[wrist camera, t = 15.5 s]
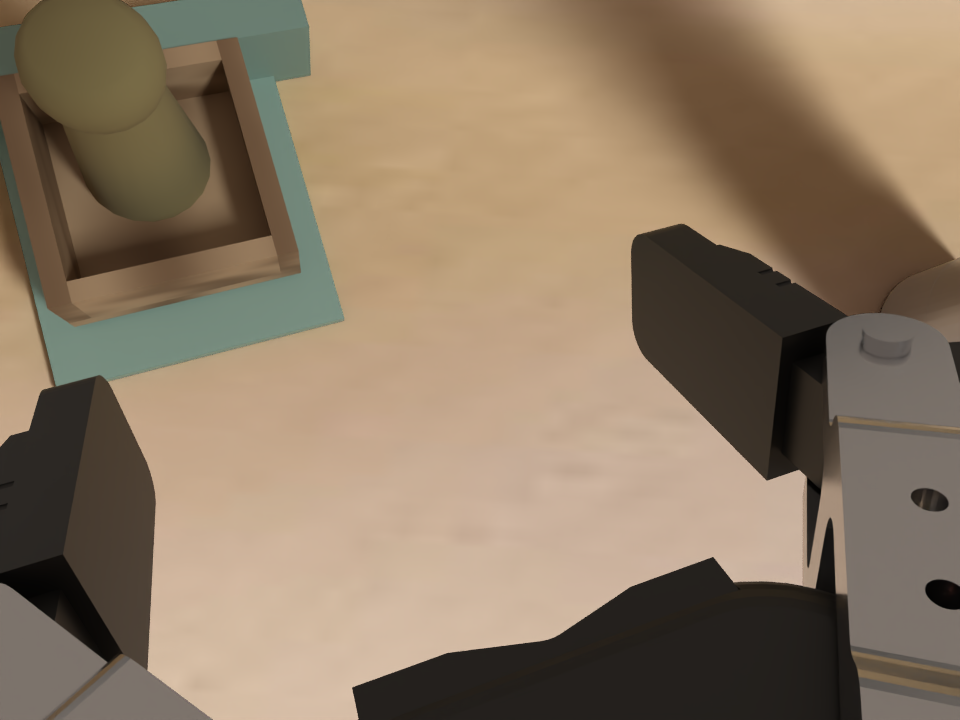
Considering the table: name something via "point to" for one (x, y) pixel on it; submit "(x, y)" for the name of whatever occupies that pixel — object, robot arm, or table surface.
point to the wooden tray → (165, 243)
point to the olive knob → (113, 105)
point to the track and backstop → (229, 314)
